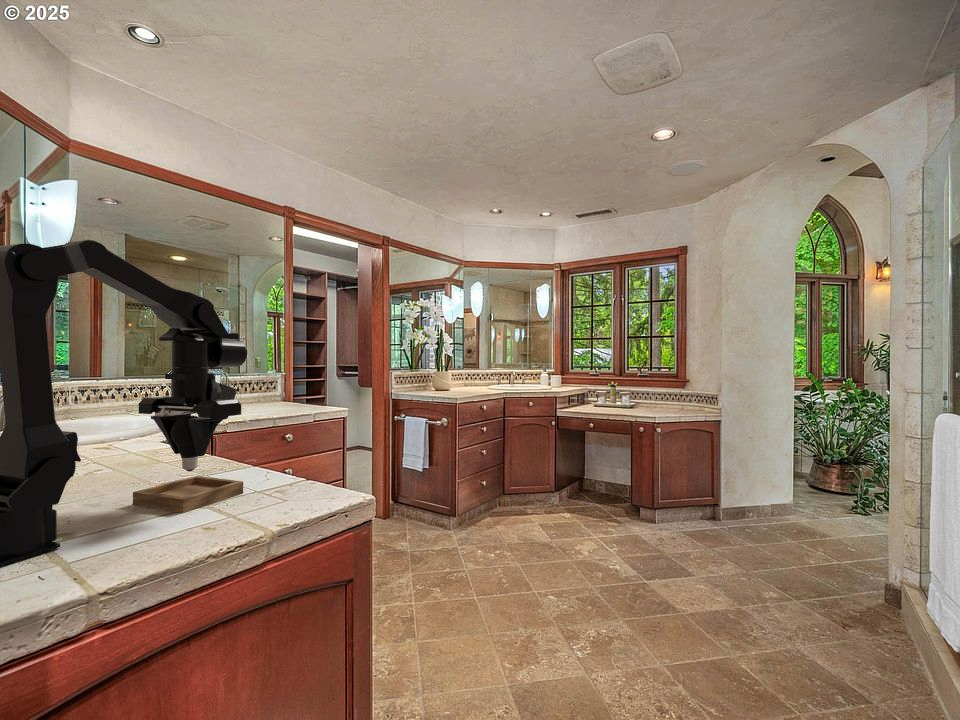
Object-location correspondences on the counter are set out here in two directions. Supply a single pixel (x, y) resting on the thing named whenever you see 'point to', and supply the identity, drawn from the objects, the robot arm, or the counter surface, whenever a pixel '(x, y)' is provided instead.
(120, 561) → the counter surface
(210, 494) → the walnut tray
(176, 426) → the light bulb
